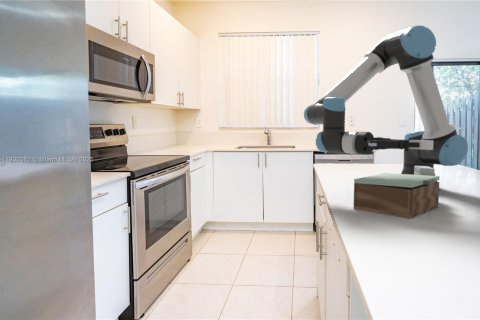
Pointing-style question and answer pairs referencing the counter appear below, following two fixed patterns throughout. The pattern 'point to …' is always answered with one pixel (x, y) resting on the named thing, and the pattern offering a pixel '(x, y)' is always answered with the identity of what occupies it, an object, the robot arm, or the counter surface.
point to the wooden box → (396, 199)
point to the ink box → (424, 170)
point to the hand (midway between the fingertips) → (432, 145)
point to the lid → (398, 180)
